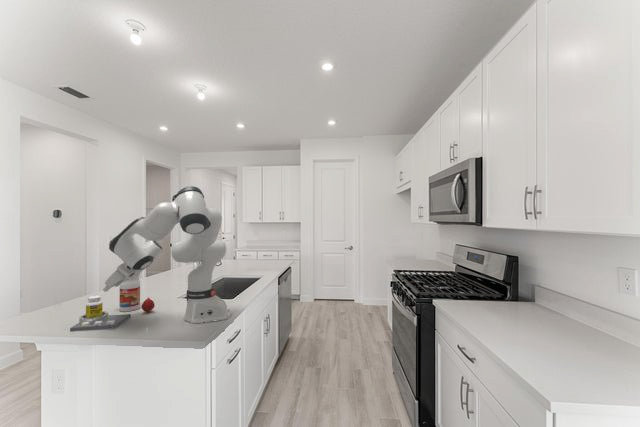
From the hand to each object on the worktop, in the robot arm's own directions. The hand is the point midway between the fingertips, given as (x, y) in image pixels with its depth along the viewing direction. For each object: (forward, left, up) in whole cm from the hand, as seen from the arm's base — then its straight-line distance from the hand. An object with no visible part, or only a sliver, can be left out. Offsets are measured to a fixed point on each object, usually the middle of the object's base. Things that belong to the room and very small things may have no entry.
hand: (110, 288), depth 138 cm
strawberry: (-13, -11, -16) cm, 24 cm away
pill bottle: (+6, +1, -15) cm, 16 cm away
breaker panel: (+2, +2, -16) cm, 17 cm away
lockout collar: (+6, +1, -15) cm, 16 cm away
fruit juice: (-1, -19, -16) cm, 25 cm away
